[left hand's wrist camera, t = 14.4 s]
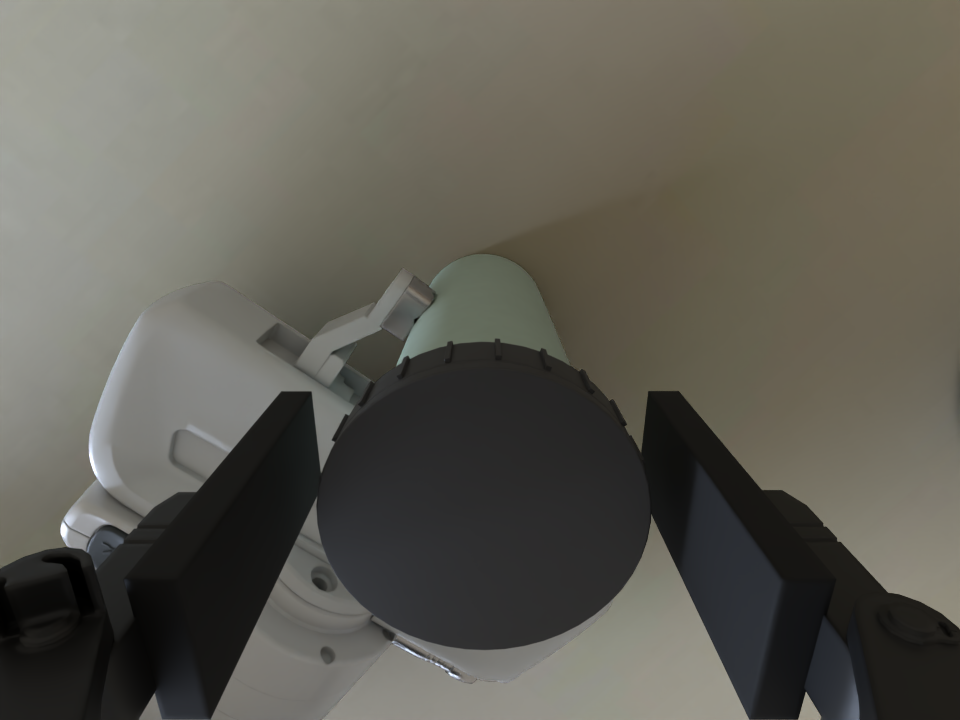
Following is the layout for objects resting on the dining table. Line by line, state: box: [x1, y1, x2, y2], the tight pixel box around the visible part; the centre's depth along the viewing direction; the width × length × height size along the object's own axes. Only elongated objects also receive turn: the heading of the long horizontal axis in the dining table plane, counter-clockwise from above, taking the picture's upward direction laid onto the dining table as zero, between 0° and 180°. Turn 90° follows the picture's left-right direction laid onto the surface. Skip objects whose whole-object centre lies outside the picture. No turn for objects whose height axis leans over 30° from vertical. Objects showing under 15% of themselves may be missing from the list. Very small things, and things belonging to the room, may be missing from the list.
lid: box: [316, 338, 651, 650], centre depth 12 cm, size 7×7×2 cm
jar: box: [396, 254, 571, 366], centre depth 19 cm, size 6×6×15 cm
